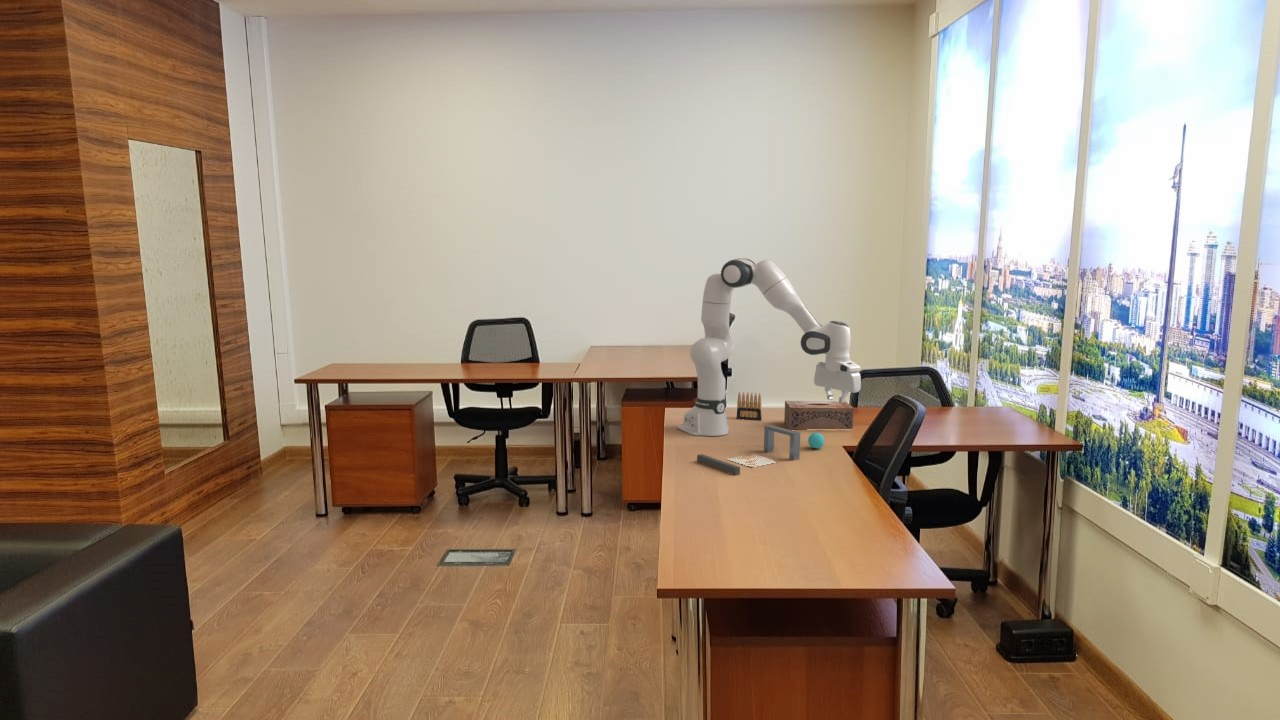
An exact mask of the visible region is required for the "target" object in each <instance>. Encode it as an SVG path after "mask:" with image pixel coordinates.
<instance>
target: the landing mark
mask: <svg viewBox="0 0 1280 720" xmlns="http://www.w3.org/2000/svg"><path fill="white" fill-rule="evenodd" d="M756 455H757V456H758V454H756ZM742 456H743V455H741V457H742ZM757 456H756V457H755V458H751V459H749V460H750V461H751V460H752V461H753V460H754V459H755V460H756V459H757V458H758V457H759V456H760V457H761V455H759V456H758V457H757ZM737 457H738V458H739V457H740V456H736V457H735V456H734V457H731V458H726V459H727V460H726V461H729V460H730V462H732V461H733V462H732V463H735V462H736V463H735V464H738V463H739V464H738V465H741V464H743V465H742V466H744V465H745V466H744V467H747V466H754V465H748V464H750V463H745V462H746V461H747V462H748V461H749V460H747V459H737ZM741 457H740V458H741ZM760 457H759V458H758V459H757V460H756V461H755V460H754V461H755V462H752V463H753V464H754V463H755V466H754V468H758V467H757V466H759V467H763V466H762V465H764V466H768V465H767V464H769V465H772V464H771V463H774V464H777V463H776V462H774V459H772V458H768V457H765V456H762V457H761V458H760ZM733 458H734V459H733ZM735 458H736V459H735ZM752 463H751V464H752ZM756 463H757V464H756ZM746 464H747V465H746ZM756 465H757V466H756Z"/></svg>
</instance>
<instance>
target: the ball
mask: <svg viewBox="0 0 1280 720" xmlns="http://www.w3.org/2000/svg"><path fill="white" fill-rule="evenodd" d="M807 443H808V445H809V447H811V448H812V449H814V448H815V450H817V449H818V448H819V449H821V448H822V447H824V444H825V438H824V436H823V435H822V434H821V433H820V432H813V433H811V434H810V435H809V437H808V438H807ZM819 449H818V450H819Z"/></svg>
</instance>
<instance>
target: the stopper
mask: <svg viewBox="0 0 1280 720" xmlns="http://www.w3.org/2000/svg"><path fill="white" fill-rule="evenodd" d="M696 462H697V463H699V464H702V465H705V466H707V465H708V466H707V467H710V466H711V467H710V468H713V467H714V468H713V469H716V468H717V469H716V470H719V469H720V470H719V471H722V470H723V471H722V472H725V471H726V472H725V473H727V472H729V473H728V474H730V473H732V474H731V475H733V474H734V475H733V476H738V475H737V474H739V475H740V474H741V466H738V465H735V464H732V463H729V462H726V461H723V460H721V459H717V458H715V457H712V456H708V455H705V454H703V453H700V454H699V453H698V454H697V455H696Z"/></svg>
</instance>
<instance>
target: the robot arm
mask: <svg viewBox="0 0 1280 720" xmlns="http://www.w3.org/2000/svg"><path fill="white" fill-rule="evenodd" d="M748 285H755V286H756V287H757V289H759V291H760V292H761V294H762V296H763V297H764V298H765V300H767V302H768V303H769V304H770V305H771V306H772V307H773V308H775V309H777V310H780V311H783V312H785V313H786V314H788V315H789V316H791V318H793V320H794V321H795V322H796V323H797V325H798V327H799V328H800V329H801V331H803V332H804V334H802V336H801V338H800V347H801V349H802V350H803V351H804V353H806V354H808V355H811V356H816V355H817V356H818V355H823V354H824V355H825V362H822V361H819V362H818V363H817V364H816V365H815V370H814V371H815V372H814V376H813V377H814V378H813V384H814V385H815V386H818V387H823V388H824V391H825V394H826V399H827V401H833V400H834V395H833V394H832V392H831V391H832V389H833V390H836V391H841V394H842V395H841V396H840V397H839V398H838V401H839V402H845V401H846V398H847V396H848V395H849V393H852V394H853V393H854V394H855V393H859V392H860V390H861V389H862V387H861V386H862V377H861V374H860V372H861V365H859V364H857V363H856V362H854V361H853V360H851V356H850V348H851V343H852V342H851V329H850V326H849V325H848V324H847V323H846V322H845V323H844V322H842V321H837V320H831V321H829V322H827V323H826V324H824V325H822V324H820V323H819V322H818V321H817V320H816V318H815V317H814V316H813V315H812V313H811V312H810V311H809V310H808V308H807V307H806V306H805V305H804V303H803V301H802V300H801V298H800V297H799V295H798V293H797V291H796V290H795V288H794V286H793V284H792V283H791V282H790V280H789V278H788V277H787V276H786V275H785V273H784V272H783V271H782V270H781V269H780V268H779V266H777V265H776V263H774V262H773V261H772V260H770V259H764V260H761V261H758V262H757V263H755V262H754V261H753V260H751V259H749V258H745V257H743V258H742V257H741V258H735V259H731V260H729V261H727V262H726V263H725V264H723V266H722V268H721V271H720V273H715V274H714V273H713V274H711V275H710V276H708V277H707V279H706V282H705V285H704V289H703V293H702V294H703V296H702V306H701V316H700V317H701V318H700V320H701V321H700V322H701V323H702V325H703V330H704V337H702V338H700V339H698V340H697V341H695V342H694V343H693V344H692V346H691V347H690V350H689V356H690V358H691V361H692V362H693V363H694V367H695V371H696V375H697V397H694V398H693V402H694V406H693V407H691V409H689V410H688V411H687V412H685V413H684V414H683V418H682V419H683V420H682V422H683V423H680V424H678V425H677V426H676V428H677V429H679V430H681V431H682V432H685V433H687V434H689V435H691V436H705V437H709V436H710V437H716V436H717V437H718V436H724V435H725V436H726V435H728V434H729V433H730V432H729V431H730V427H729V425H728V423H729V422H728V414H727V410H726V408H727V398H726V377H725V375H724V373H723V370H722V362H725V361H727V359H729V358H730V357H731V356H732V355H733V354H734V353H733V352H734V349H735V347H734V342H733V341H732V337H731V331H730V316H731V314H730V312H731V305H732V304H731V303H732V301H731V300H732V294H733V291H734V290H735V288H737V289H738V288H743V287H746V286H748Z"/></svg>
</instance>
